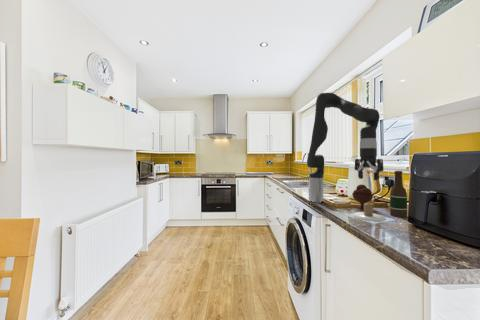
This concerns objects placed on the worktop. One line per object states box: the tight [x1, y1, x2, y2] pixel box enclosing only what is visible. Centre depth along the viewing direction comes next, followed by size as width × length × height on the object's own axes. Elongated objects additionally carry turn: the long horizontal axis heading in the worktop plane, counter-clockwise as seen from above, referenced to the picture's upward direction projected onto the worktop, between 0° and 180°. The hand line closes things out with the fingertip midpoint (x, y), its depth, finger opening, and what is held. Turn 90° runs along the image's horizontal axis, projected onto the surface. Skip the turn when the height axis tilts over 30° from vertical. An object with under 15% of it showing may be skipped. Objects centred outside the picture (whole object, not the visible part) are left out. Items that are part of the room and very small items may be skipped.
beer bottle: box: [389, 170, 408, 219], centre depth 115 cm, size 8×8×24 cm
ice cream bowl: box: [352, 183, 374, 211], centre depth 130 cm, size 11×11×15 cm
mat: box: [342, 212, 396, 225], centre depth 112 cm, size 18×16×1 cm
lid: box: [352, 202, 386, 221], centre depth 112 cm, size 14×14×7 cm
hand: (368, 179), depth 112 cm, fingers open, 8 cm apart
